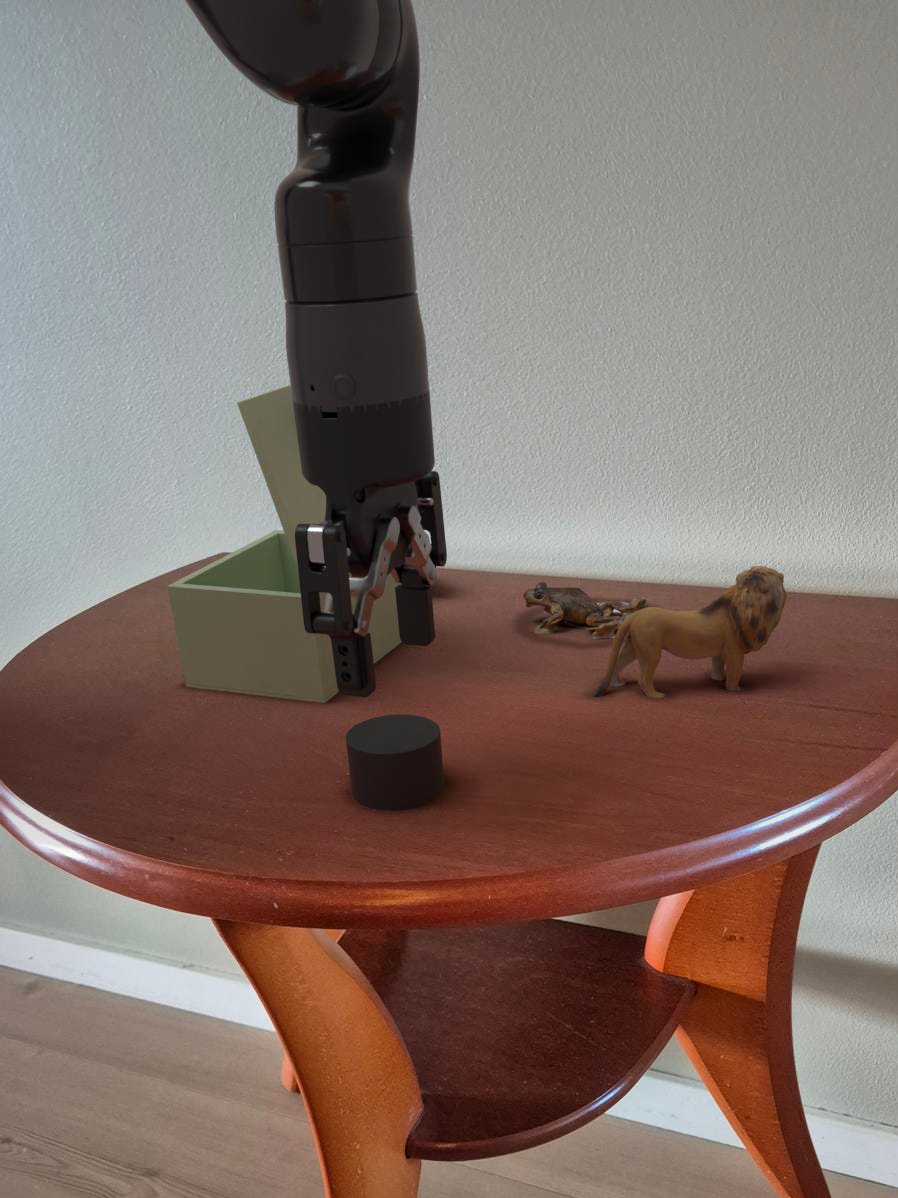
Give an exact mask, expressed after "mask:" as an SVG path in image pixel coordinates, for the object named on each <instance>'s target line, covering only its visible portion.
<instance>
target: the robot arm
mask: <svg viewBox="0 0 898 1198" xmlns="http://www.w3.org/2000/svg"><path fill="white" fill-rule="evenodd" d="M184 1H185V2H186V4H187V6H188V7H189V9H190V10H191V12H192V13H193V15H194V16H195V18H196V19H197V21H198V22H199V24H200V25H201V27H202V29H204V31H205V33H206V34H207V36H208V37H209V38H210V40H211V41H212V42H213V43H214V46H216V48H218V50H219V52H221V54H222V55H223V56H224V57H225V58H226V59H227V61H229V63H230V64H231V66H233V67H234V68H235V69H236V70H237V71H238V72H239V73H240V74H241V75H242V76H243V77H244V78H246V80H248V81H249V83H251V84H252V85H254V87H256V88H257V89H258V90H260V91H261V92H263V93H264V94H266V95H267V96H269V97H270V98H272V99H273V100H276V101H278V102H280V103H283V104H285V105H288V106H292V107H296V164H295V166H294V169H293V170H292V171H291V172H290V173H289V174H287V175H286V176H285V177H284V178H283V179H282V181H281V182H280V183H279V185H278V186H277V188H276V191H275V194H274V203H273V205H274V207H273V208H274V210H273V211H274V225H275V237H276V238H275V239H276V244H277V254H278V261H279V269H280V276H281V277H280V278H281V285H282V292H283V299H284V300H285V302H284V310H285V350H286V360H287V368H288V377H289V385H291V393H292V401H293V408H294V416H295V423H296V431H297V439H298V446H299V454H300V462H301V470H302V475H303V477H304V478H305V479H306V480H307V481H308V482H309V483H310V484H312V485H317V486H318V487H319V488H321V489H322V490H323V492H324V493H325V495H326V513H325V521H324V522H322V523H320V524H298V525H297V527H296V529H295V544H296V553H297V563H298V572H299V582H300V592H301V601H302V611H303V620H304V628H305V630H306V632H307V633H312V634H327V635H329V637H330V639H331V643H332V651H333V659H334V665H335V666H334V667H335V674H336V682H337V688H338V690H339V693H340V694H342V695H344V696H352V697H360V698H368V697H369V696H370V695H372V694H373V693H374V692H375V691H376V689H377V683H376V673H375V663H374V662H373V653H372V644H371V635H370V633H367V632H368V629H369V623H370V618H371V613H372V608H373V603H374V601H375V600H376V599H378V598H380V597H381V596H382V595H383V592H384V588H385V583H386V577H387V575H389V573H391V575H392V576H393V578H394V580H395V582H396V583H402V585H398V586H397V587H395V593H396V604H397V614H398V625H399V635H400V640H401V641H402V642H401V643H403V644H404V645H409V646H420V647H427V646H430V644H431V643H433V642H434V641H435V639H436V627H435V615H434V605H433V590H432V586H434V585H435V583H436V580H437V569H436V568H437V567H439V568H440V567H441V568H443V567H445V566H446V563H447V560H448V551H447V542H446V531H445V521H444V511H443V510H444V509H443V502H442V491H441V489H442V488H441V481H440V473H439V472H438V471H436V470H434V467H435V463H436V458H435V444H434V433H433V421H432V420H433V419H432V417H433V416H432V405H431V404H432V403H431V393H430V391H431V389H430V381H429V380H430V379H429V366H428V365H429V364H428V349H427V340H426V334H425V328H424V323H423V318H422V314H421V308H420V302H419V294H418V292H417V291H418V282H417V268H416V267H417V266H416V255H415V244H414V243H415V242H414V231H413V230H414V229H413V221H412V213H411V205H410V192H411V180H412V173H413V172H412V171H413V167H414V161H415V160H414V159H415V151H416V138H417V124H418V123H417V122H418V112H419V111H418V110H419V96H420V80H421V79H420V77H421V63H420V62H421V57H420V56H421V55H420V42H419V33H418V26H417V25H418V24H417V20H416V15H415V10H414V9H415V8H414V6H413V2H412V0H184ZM426 531H427V532H428V533H429V535H430V536H429V538H430V539H429V540H430V542H429V540H428V538H427V536H426V534H427V533H426ZM425 533H426V534H425ZM323 566H324V567H323ZM349 573H350V574H352V577H363V578H352V577H349ZM319 592H323V593H326V598H325V603H324V608H323V612H321V606H320V596H319ZM351 597H357V599H356V604H355V610H354V614H352V605H351Z"/></svg>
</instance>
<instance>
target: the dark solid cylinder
mask: <svg viewBox="0 0 898 1198" xmlns="http://www.w3.org/2000/svg"><path fill="white" fill-rule="evenodd" d="M441 733H442V732H441V728H440V725H439V724H438V723H436V722H435V721H434V720H432V719H431V718H428V717H424V716H421V715H414V714H403V713H402V714H401V713H400V714H399V713H398V714H387V715H380V716H376V717H371V718H369V719H366V720H363V721H361V722H358V723H357V724H355V725H353V726H352V727H350V729H348V730H347V732H346V735H345V742H346V744H345V745H346V751H347V752H346V753H347V762H348V770H349V771H348V772H349V779H350V786H351V794H352V797H353V800H355V801H356V802H357V803H358V804H359V805H362V806H363V807H366V808H368V809H372V810H378V811H389V812H390V811H393V812H394V811H404V810H410V809H415V808H419V807H422V806H426V805H428V804H429V803H431V802H433V801H435V800H437V799H438V798H439V797H440V796H441V795H442V794H443V792H444V790H445V775H444V763H443V762H444V760H443V749H442V747H443V746H442V736H441V735H442V734H441Z"/></svg>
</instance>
